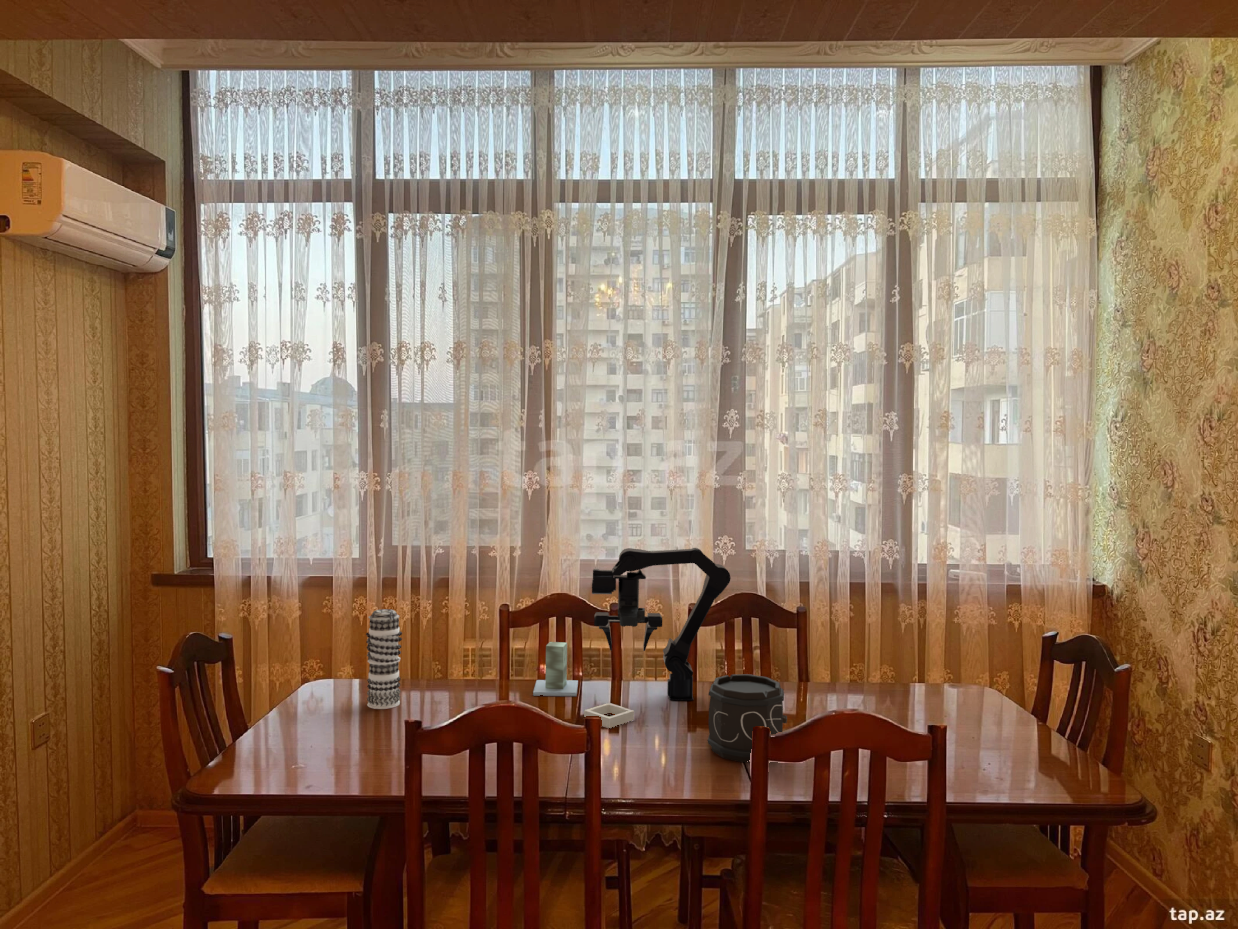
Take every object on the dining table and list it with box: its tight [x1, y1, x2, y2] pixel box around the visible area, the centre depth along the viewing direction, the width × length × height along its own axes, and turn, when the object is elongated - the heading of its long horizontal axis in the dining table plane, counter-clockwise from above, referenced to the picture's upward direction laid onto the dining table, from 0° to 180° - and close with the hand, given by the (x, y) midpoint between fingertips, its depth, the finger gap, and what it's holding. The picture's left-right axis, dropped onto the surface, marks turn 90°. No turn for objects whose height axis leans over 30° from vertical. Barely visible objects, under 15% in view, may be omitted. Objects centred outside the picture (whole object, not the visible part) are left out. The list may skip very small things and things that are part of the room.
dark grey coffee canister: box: [707, 673, 788, 763], centre depth 201 cm, size 18×18×16 cm
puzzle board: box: [583, 702, 635, 729], centre depth 221 cm, size 9×9×2 cm
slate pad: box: [532, 679, 579, 697], centre depth 247 cm, size 12×12×1 cm
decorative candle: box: [365, 608, 403, 710], centre depth 231 cm, size 9×9×25 cm
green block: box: [545, 641, 568, 689], centre depth 247 cm, size 5×5×12 cm
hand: (627, 650), depth 241 cm, fingers open, 9 cm apart
